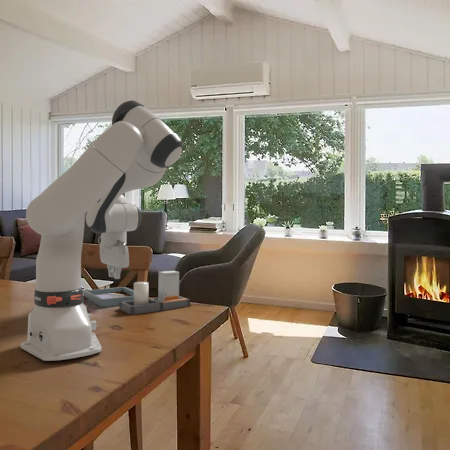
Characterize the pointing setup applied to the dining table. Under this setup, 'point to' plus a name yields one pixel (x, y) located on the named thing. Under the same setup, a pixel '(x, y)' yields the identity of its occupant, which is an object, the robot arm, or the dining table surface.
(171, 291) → the skincare box
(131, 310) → the slot holder
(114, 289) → the slate tray
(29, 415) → the dining table surface
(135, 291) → the ceramic jar
